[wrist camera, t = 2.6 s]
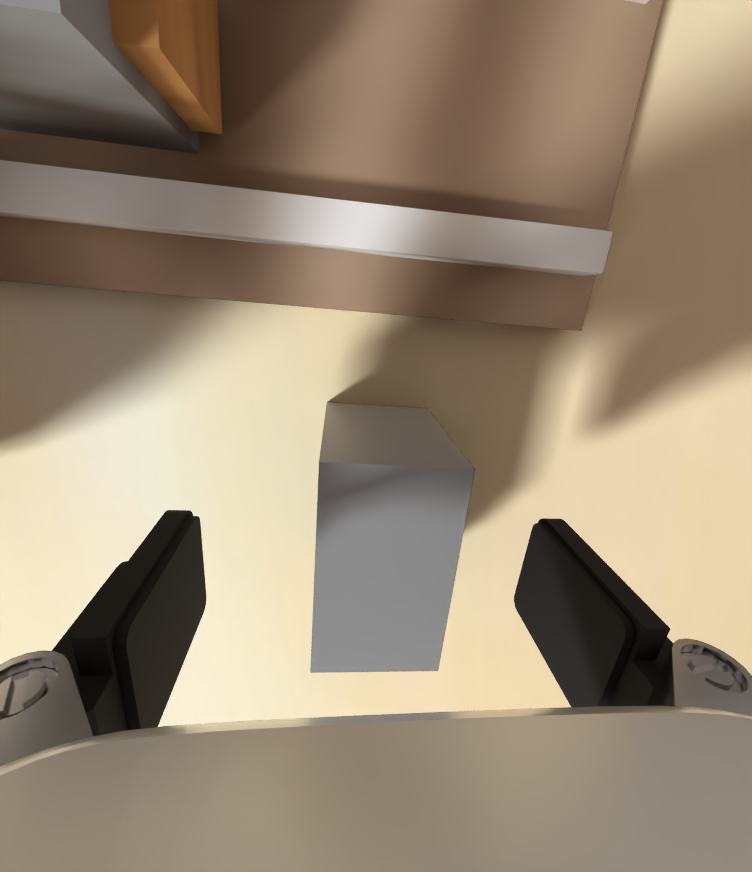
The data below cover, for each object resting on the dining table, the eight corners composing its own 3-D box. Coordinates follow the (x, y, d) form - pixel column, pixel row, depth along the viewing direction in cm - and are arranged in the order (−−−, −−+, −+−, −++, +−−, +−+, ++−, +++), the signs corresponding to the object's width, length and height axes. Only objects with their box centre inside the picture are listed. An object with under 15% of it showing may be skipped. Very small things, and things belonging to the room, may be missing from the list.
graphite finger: (427, 407, 16) (474, 469, 10) (405, 568, 18) (434, 689, 13) (327, 401, 15) (319, 461, 10) (319, 567, 18) (309, 691, 12)
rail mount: (668, -105, 11) (1138, -685, 5) (566, 328, 15) (740, 352, 8) (-222, -299, 9) (-1863, -2037, 2) (-70, 273, 13) (-512, 247, 6)
